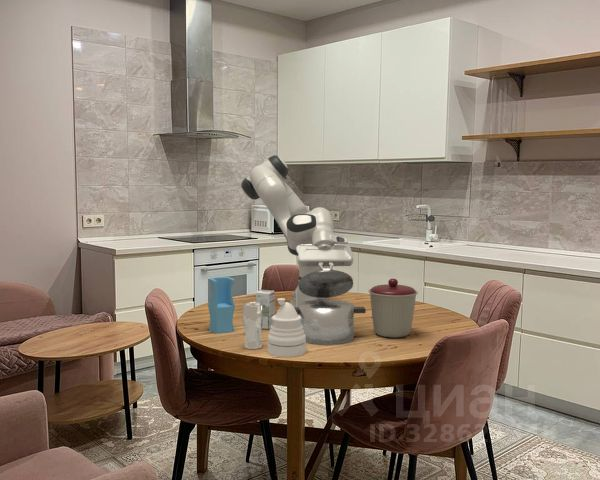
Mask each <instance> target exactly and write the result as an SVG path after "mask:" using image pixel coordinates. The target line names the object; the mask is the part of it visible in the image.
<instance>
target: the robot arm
mask: <svg viewBox="0 0 600 480" xmlns="http://www.w3.org/2000/svg"><path fill="white" fill-rule="evenodd" d="M249 173H250V174H248V175H247V176H246V177H244V179H243V180H242V181H241V184H240V186H241V187H240V188H241V190H242V192H243V194H244V195H245V196H246V197H247V198H249V199H251V200H253V201H255V200H258V199H260V200H261V201H262V202H263V204H264V205H265V206H266V209H267V210H268V211H269V213H270V214H271V215H272V216H271V217H273V219H274V220H275V222H276V224H277V226H278V227H279V229H280V231H281V233H282V234H283V236H284V237H285V240H286V243H287V249H288V252H289V253H290V254H292V256H293V255H294V256H297V266H298V267H299V270H298V272H299V276H298V277H297V287H296V288H295V289H294V291H291V297H292V298H293V299H290V300H289V303H290V304H291V305H292V306H293V307H299V304H300V303H302V302H305V301H310V300H316V299H324V298H316V297H311V296H308V295H305V294H303V293H302V292H301V291H300V290H299V281H300V280H301V278H303V277H304V276H305V275H307V274H310V273H312V272H316V271H321V270H333V268H334V267H351V266H352V265H353V264H354V263H353V262H354V254H353V251H352V248H351V246H350V245H349V241H348V238H346V237H342V236H339V235H336V234H335V232H334V231H335V226H334V224H335V223H334V220H333V216H332V214H331V211H329V210H328V209H327V208H324V207H323V206H322V207H320V206H319V207H318V206H317V207H315V208H313V209H312V210H310V209H309V208H308V207H307V206H306V205H305V204H304V202H303V201H302V200H301V199H300V197H299V196H298V195H297V194H296V192H294V190H293V189H292V188H291V186H289V185H288V184H287V182H286V181H284V179H285V180H287V179H288V178H287V176H288V174H289V168H288V164H287V163H286V161H285V160H284V159H283V158H282V157H280V156H278V155H276V154H274V155H271V156H270V157H268V158H267V159H266V160H265V161H262V163H260V164H258V165H256V166H254V167H253V168H252V169H251V170H250V172H249ZM325 267H328V268H325Z"/></svg>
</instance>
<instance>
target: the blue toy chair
mask: <svg viewBox="0 0 600 480" xmlns="http://www.w3.org/2000/svg"><path fill="white" fill-rule="evenodd" d="M208 280H209V284H210V297H209V300H208V303H207V308H208V311H209V326H208V330H209V331H210V332H212V333H213V334H226V333H233V332H234V330H235V329H234V323H233V319H234V313H235V310H236V305H235V302H234V299H233V286H234V283H235V278H232V277H229V276H216V277H215V276H214V277H213V276H212V277H209V278H208Z"/></svg>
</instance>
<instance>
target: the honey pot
mask: <svg viewBox="0 0 600 480" xmlns="http://www.w3.org/2000/svg"><path fill="white" fill-rule="evenodd" d="M277 302H278V304H279V308H278V310H277V311H276V313H275V314H274V316H272V318H271V319H272V320H273V323H272V325H271V329H270V330H269V333H268V335H267V353H268V354H269V355H271V356H274V357H278V358H295V357H300V356H302V355H304V354H306V352H307V346H306V345H307V342H306V335H305V334H304V330H303V326H302V325H301V322H300V320H301V316H299V314H297V312H296V310H295V308H294V307H293V306H292V305H291V304H290V302H289V301H288V302H287V301H286V298H284V297H283V298H282V297H281V298H277Z"/></svg>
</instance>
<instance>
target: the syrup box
mask: <svg viewBox="0 0 600 480" xmlns="http://www.w3.org/2000/svg"><path fill="white" fill-rule="evenodd" d="M255 302H260V303H262V304H263V325H262V330H268V331H270V329H271V325H272V323H273V320H272V319H271V318H272V316H274V315H275V290H268V289H260V290H258V291H256V292H255Z"/></svg>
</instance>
